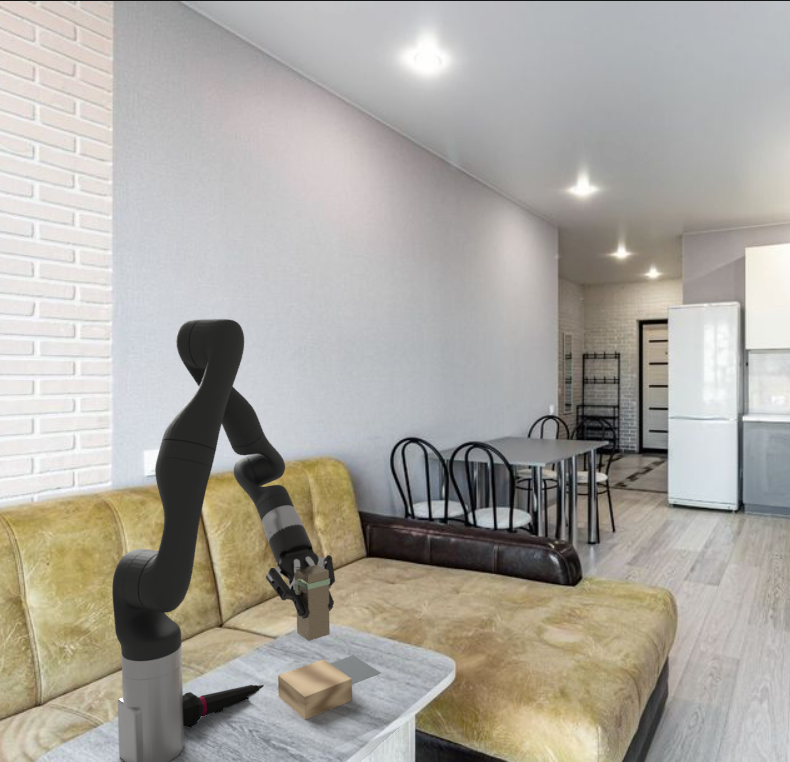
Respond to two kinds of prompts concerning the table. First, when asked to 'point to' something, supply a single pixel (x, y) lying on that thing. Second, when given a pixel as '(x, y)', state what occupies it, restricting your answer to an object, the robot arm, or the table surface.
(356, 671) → the coaster
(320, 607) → the column
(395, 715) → the table surface
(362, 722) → the table surface
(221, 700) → the microphone
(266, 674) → the table surface
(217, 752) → the table surface
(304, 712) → the rest block
